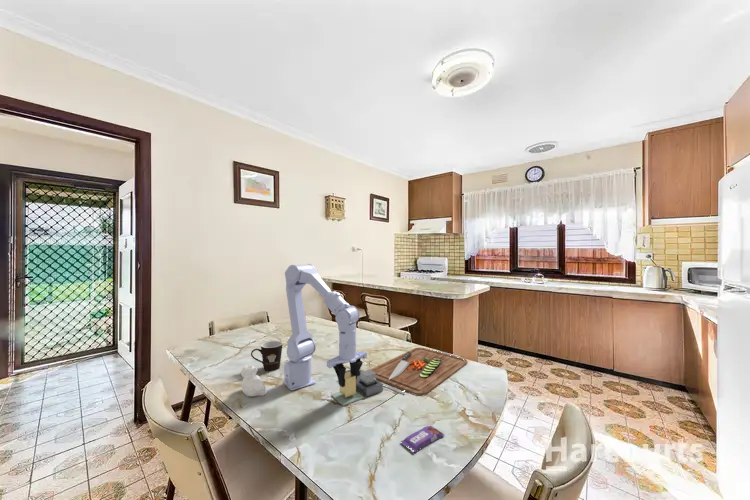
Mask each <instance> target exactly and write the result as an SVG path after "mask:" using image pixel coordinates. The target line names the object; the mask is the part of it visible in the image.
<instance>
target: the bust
mask: <svg viewBox="0 0 750 500" xmlns="http://www.w3.org/2000/svg"><path fill="white" fill-rule="evenodd" d="M258 371H259V370H258V368H257V367H255V366H254V365H252V364H246V365H245V366H244V367H242V368H241V371H240V374H241V377H242V385H241V390H242V392H243V393H244V394H245V396H247V397H251V398H252V397H257V396H261V397H263V396H265V395H266V391H267V389H266V385H265V383H264V381H263V380H262V379H261V377H260V376H259V375H257V372H258Z"/></svg>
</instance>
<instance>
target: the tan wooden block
mask: <svg viewBox="0 0 750 500" xmlns="http://www.w3.org/2000/svg"><path fill="white" fill-rule="evenodd" d="M356 391H357V390H356V376H355V375H354V374H352V373H351V372H347V373H345V377H344V387H341V386H340V385H339V392H340V393H341V394H342V395H343V396H344V397H345V398H346V397H348V396H351V395H354V394H356Z"/></svg>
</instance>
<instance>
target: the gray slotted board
mask: <svg viewBox="0 0 750 500" xmlns="http://www.w3.org/2000/svg"><path fill="white" fill-rule="evenodd" d="M363 371H364V370H362V369H360V370H359V372H358V376H357V379H356V391H357V392H358V393H359V394H361V395H362V396H364V397H365V398H368V397H371V396H373V395H377V394H378V393H381V392H383V391H384V386H383V384H384V383H382V381H379V380H376V384H374V385H372V386H369V387H365V386H364V385H362V384H361V383H360V372H363ZM347 372H351V369H348V370H347V369H346V371H345V373H347Z"/></svg>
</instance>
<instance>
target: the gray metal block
mask: <svg viewBox="0 0 750 500" xmlns="http://www.w3.org/2000/svg"><path fill="white" fill-rule="evenodd" d="M370 369H371V368H370ZM370 369H366V370H362V371H363V372H360V383H361V384H362V385H364V386H365V387H369V386H372V385H374V384H376V373H375V372H373V371H371V370H370Z"/></svg>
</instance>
